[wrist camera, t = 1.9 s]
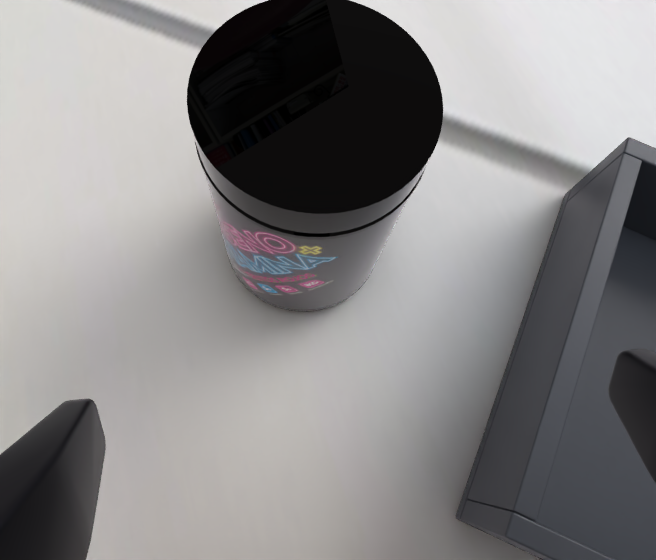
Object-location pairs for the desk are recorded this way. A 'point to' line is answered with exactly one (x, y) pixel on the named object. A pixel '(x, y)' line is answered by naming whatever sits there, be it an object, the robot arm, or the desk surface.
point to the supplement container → (311, 142)
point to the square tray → (577, 382)
